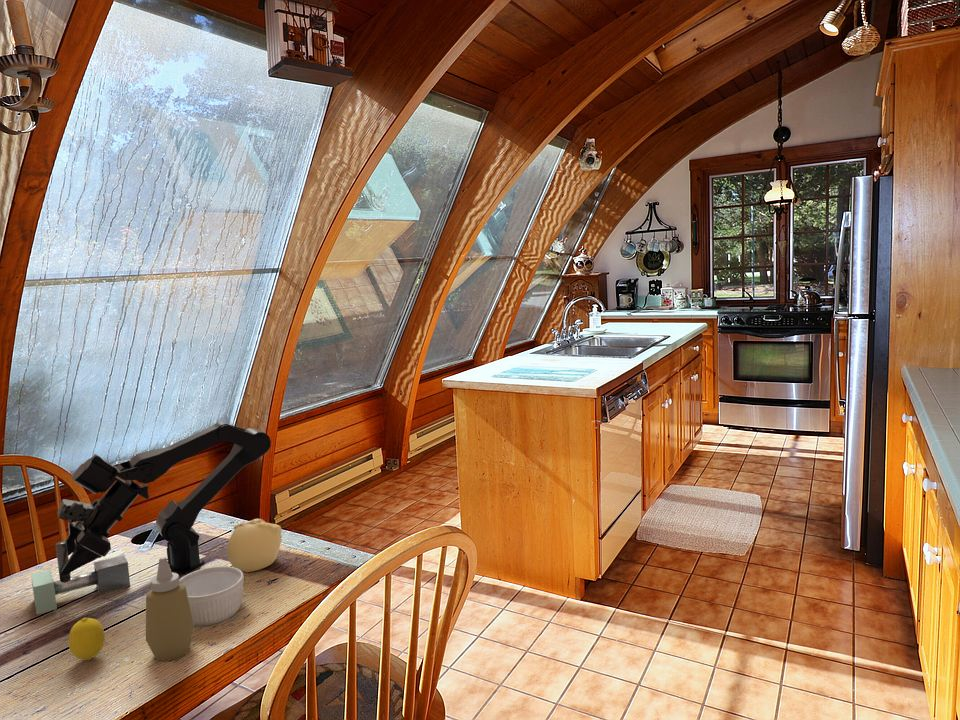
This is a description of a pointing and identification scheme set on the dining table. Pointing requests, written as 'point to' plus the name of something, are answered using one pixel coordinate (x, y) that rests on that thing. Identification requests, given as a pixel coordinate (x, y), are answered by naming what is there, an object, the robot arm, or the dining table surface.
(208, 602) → the ramekin
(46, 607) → the socket block
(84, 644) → the lemon
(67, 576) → the dark grey l-shaped piece
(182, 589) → the squeeze bottle
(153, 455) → the robot arm
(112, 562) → the grey cubic block
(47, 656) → the dining table surface
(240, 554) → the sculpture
